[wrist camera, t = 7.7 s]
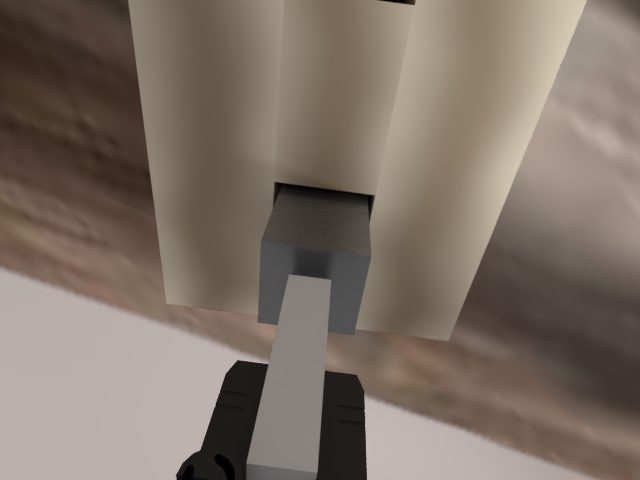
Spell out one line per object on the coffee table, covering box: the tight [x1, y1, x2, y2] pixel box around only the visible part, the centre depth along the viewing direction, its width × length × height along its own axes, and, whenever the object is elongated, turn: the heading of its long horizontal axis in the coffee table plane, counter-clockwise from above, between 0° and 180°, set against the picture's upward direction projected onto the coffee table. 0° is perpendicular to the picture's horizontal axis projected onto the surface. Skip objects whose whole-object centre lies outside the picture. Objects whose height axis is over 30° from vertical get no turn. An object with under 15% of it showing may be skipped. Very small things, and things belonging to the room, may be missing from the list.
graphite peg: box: [258, 183, 372, 335], centre depth 18 cm, size 4×4×6 cm
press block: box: [128, 0, 587, 341], centre depth 19 cm, size 16×24×7 cm, turn 174°
